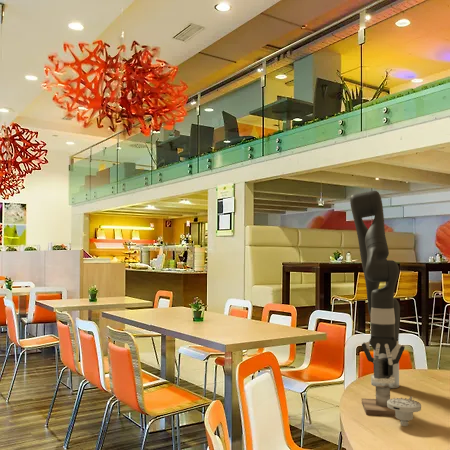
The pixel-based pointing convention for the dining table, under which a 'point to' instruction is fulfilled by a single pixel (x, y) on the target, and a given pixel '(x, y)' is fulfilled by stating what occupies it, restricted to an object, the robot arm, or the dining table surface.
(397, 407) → the showerhead
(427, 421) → the dining table surface
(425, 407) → the dining table surface
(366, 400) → the post base
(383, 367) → the knob
